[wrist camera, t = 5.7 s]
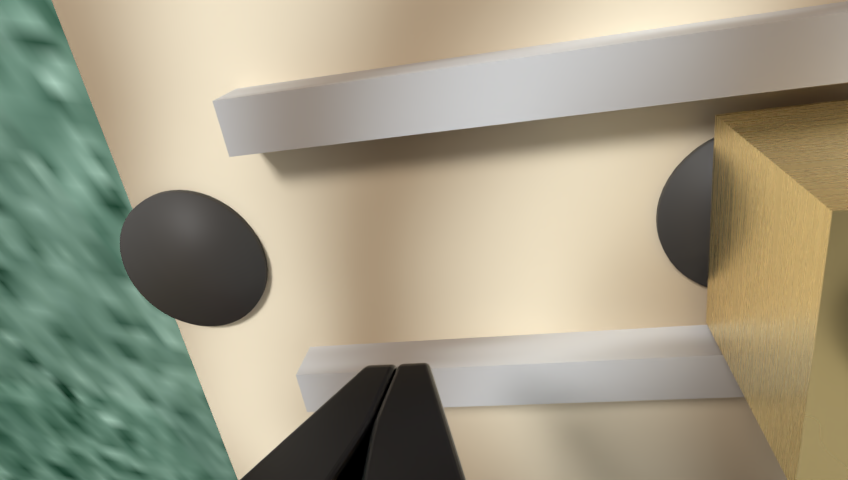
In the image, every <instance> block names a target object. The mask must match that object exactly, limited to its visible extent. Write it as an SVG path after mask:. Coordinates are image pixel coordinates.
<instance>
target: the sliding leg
mask: <svg viewBox="0 0 848 480" xmlns="http://www.w3.org/2000/svg"><path fill="white" fill-rule="evenodd" d="M706 323H707V325H708V327H709V329H710V331H711V333H712V335H713V337H714V339H715V341H716V343H717V345H718V347H719V348H720V350H721V352H722V354H723V356H724V358H725V360H726V362H727V364H728V366H729V368H730V370H731V372H732V374H733V376H734V377H735V379H736V381H737V383H738V385H739V387H740V389H741V391H742V393H743V395H744V397H745V399H746V401H747V403H748V405H749V406H750V408H751V410H752V412H753V414H754V416H755V418H756V420H757V422H758V424H759V426H760V428H761V430H762V432H763V434H764V435H765V437H766V439H767V441H768V443H769V445H770V447H771V449H772V451H773V453H774V455H775V457H776V459H777V461H778V463H779V464H780V466H781V468H782V470H783V472H784V474H785V476H786V478H787V480H848V99H847V100H838V101H829V102H821V103H812V104H803V105H795V106H786V107H778V108H769V109H760V110H752V111H743V112H735V113H726V114H717V115H715V131H714V153H713V176H712V198H711V220H710V243H709V265H708V287H707V310H706Z"/></svg>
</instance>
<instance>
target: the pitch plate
mask: <svg viewBox="0 0 848 480" xmlns="http://www.w3.org/2000/svg"><path fill="white" fill-rule="evenodd" d="M52 2H53V5H54V7H55V10H56V13H57V15H58V18H59V20H60V23H61V25H62V28H63V31H64V33H65V36H66V38H67V41H68V43H69V46H70V49H71V51H72V54H73V56H74V59H75V61H76V64H77V67H78V69H79V72H80V74H81V77H82V79H83V82H84V85H85V87H86V90H87V92H88V95H89V98H90V100H91V103H92V105H93V108H94V110H95V113H96V116H97V118H98V121H99V123H100V126H101V128H102V131H103V134H104V136H105V139H106V141H107V144H108V146H109V149H110V152H111V154H112V157H113V159H114V162H115V164H116V167H117V170H118V172H119V175H120V177H121V180H122V182H123V185H124V188H125V190H126V193H127V195H128V198H129V200H130V203H131V206H132V208H133V210H132V211H131V212H130V213H129V215H128V216H127V218H126V219H125V222H124V224H123V227H122V231H121V235H120V252H121V257H122V261H123V264H124V267H125V269H126V272H127V274H128V276H129V278H130V279H131V281H132V282H133V284H134V286H135V287H136V288H137V289H138V291H139V292H140V293H141V294H142V295H143V296H144V297H145V298H146V299H147V300H148V301H149V302H150V303H151V304H152V305H153V306H155V307H156V308H158V309H159V310H160V311H162V312H164V313H165V314H167V315H169V316H171V317H173V318H175V319H176V321H177V324H178V327H179V329H180V332H181V334H182V337H183V339H184V342H185V345H186V347H187V350H188V352H189V355H190V357H191V360H192V363H193V365H194V368H195V370H196V373H197V375H198V378H199V381H200V383H201V386H202V388H203V391H204V394H205V396H206V399H207V401H208V404H209V406H210V409H211V412H212V414H213V417H214V419H215V422H216V424H217V427H218V430H219V432H220V435H221V437H222V440H223V442H224V445H225V448H226V450H227V453H228V455H229V458H230V460H231V463H232V466H233V468H234V471H235V473H236V476H237V478H238V480H240V479H241V478H242V477H243V476H245V475H246V474H247V473H248V472H249V471H250V470H251V469H252V468H253V467H255V466H256V465H257V464H258V463H259V462H260V461H261V460H262V459H263V458H264V457H266V456H267V455H268V454H269V453H270V452H271V451H272V450H273V449H274V448H276V447H277V446H278V445H279V444H280V443H281V442H282V441H283V440H284V439H285V438H287V437H288V436H289V435H290V434H291V433H292V432H293V431H294V430H295V429H297V428H298V427H299V426H300V425H301V424H302V423H303V422H304V421H305V420H307V419H308V418H309V417H310V416H311V415H312V414H313V413H314V412H315V411H316V410H318V409H319V408H320V407H321V406H322V405H323V404H324V403H325V402H326V401H328V400H329V399H330V398H331V397H332V396H333V395H334V394H335V393H336V392H337V391H339V390H340V389H341V388H342V387H343V386H344V385H345V384H346V383H347V382H349V381H350V380H351V379H352V378H353V377H354V376H355V375H356V374H357V373H359V372H360V371H361V370H362V369H363V368H365V367H366V366H369V365H387V364H393V365H395V366H396V367H398V366H399V365H401V364H407V363H427V364H429V365H430V367H431V370H432V373H433V377H434V380H435V383H436V386H437V389H438V392H439V396H440V399H441V402H442V405H443V408H444V411H445V415H446V418H447V421H448V424H449V427H450V431H451V434H452V437H453V440H454V443H455V446H456V450H457V453H458V456H459V459H460V462H461V466H462V469H463V472H464V475H465V478H466V480H787V478H786V476H785V474H784V472H783V470H782V468H781V466H780V464H779V463H778V461H777V459H776V457H775V455H774V453H773V451H772V449H771V447H770V445H769V443H768V441H767V439H766V437H765V435H764V434H763V432H762V430H761V428H760V426H759V424H758V422H757V420H756V418H755V416H754V414H753V412H752V410H751V408H750V406H749V405H748V403H747V401H746V399H745V397H744V395H743V393H742V391H741V389H740V387H739V385H738V383H737V381H736V379H735V377H734V376H733V374H732V372H731V370H730V368H729V366H728V364H727V362H726V360H725V358H724V356H723V354H722V352H721V350H720V348H719V347H718V345H717V343H716V341H715V339H714V337H713V335H712V333H711V331H710V329H709V327H708V325H707V323H706V310H707V287H708V265H709V243H710V220H711V198H712V176H713V153H714V131H715V115H717V114H726V113H735V112H743V111H752V110H760V109H769V108H778V107H786V106H795V105H803V104H812V103H821V102H829V101H838V100H847V99H848V0H52Z"/></svg>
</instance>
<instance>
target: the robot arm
mask: <svg viewBox="0 0 848 480" xmlns="http://www.w3.org/2000/svg"><path fill="white" fill-rule="evenodd" d="M240 480H466V478H465V475H464V472H463V469H462V466H461V462H460V459H459V456H458V453H457V450H456V446H455V443H454V440H453V437H452V434H451V431H450V427H449V424H448V421H447V418H446V415H445V411H444V408H443V405H442V402H441V399H440V396H439V392H438V389H437V386H436V383H435V380H434V377H433V373H432V370H431V367H430V365H429V364H427V363H407V364H401V365H399V366H398V367H396V366H395V365H393V364H387V365H369V366H366V367H365V368H363V369H362V370H361V371H360V372H359V373H357V374H356V375H355V376H354V377H353V378H352V379H351V380H350V381H349V382H347V383H346V384H345V385H344V386H343V387H342V388H341V389H340V390H339V391H337V392H336V393H335V394H334V395H333V396H332V397H331V398H330V399H329V400H328V401H326V402H325V403H324V404H323V405H322V406H321V407H320V408H319V409H318V410H316V411H315V412H314V413H313V414H312V415H311V416H310V417H309V418H308V419H307V420H305V421H304V422H303V423H302V424H301V425H300V426H299V427H298V428H297V429H295V430H294V431H293V432H292V433H291V434H290V435H289V436H288V437H287V438H285V439H284V440H283V441H282V442H281V443H280V444H279V445H278V446H277V447H276V448H274V449H273V450H272V451H271V452H270V453H269V454H268V455H267V456H266V457H264V458H263V459H262V460H261V461H260V462H259V463H258V464H257V465H256V466H255V467H253V468H252V469H251V470H250V471H249V472H248V473H247V474H246V475H245V476H243V477H242V478H241V479H240Z"/></svg>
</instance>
